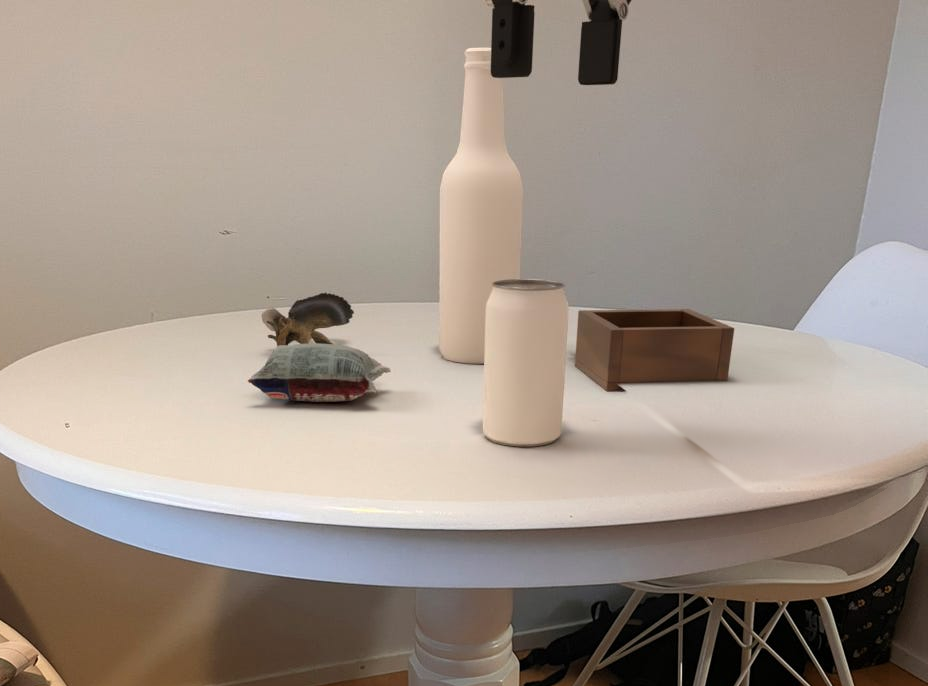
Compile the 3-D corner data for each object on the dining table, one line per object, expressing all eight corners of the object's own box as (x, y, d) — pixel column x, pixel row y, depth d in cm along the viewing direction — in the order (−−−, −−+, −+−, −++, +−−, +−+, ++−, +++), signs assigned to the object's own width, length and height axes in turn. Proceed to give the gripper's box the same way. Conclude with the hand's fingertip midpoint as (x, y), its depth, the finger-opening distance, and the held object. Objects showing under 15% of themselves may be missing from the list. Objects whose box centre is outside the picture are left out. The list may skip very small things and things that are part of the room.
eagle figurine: (308, 353, 106) (367, 328, 111) (273, 294, 104) (334, 270, 110) (279, 381, 112) (335, 356, 117) (245, 325, 111) (304, 302, 116)
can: (509, 422, 84) (515, 276, 79) (575, 435, 81) (585, 282, 76) (467, 438, 80) (469, 284, 74) (534, 452, 76) (542, 291, 71)
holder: (683, 363, 108) (689, 308, 106) (726, 388, 97) (734, 328, 95) (574, 365, 107) (578, 310, 104) (606, 391, 96) (611, 330, 93)
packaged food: (273, 385, 97) (269, 333, 94) (391, 389, 96) (390, 337, 93) (248, 407, 89) (243, 352, 87) (376, 412, 88) (375, 356, 86)
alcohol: (531, 355, 112) (545, 50, 98) (488, 368, 105) (496, 43, 92) (468, 346, 116) (473, 54, 103) (423, 358, 110) (422, 47, 96)
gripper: (531, -290, 53) (516, 72, 61) (699, -212, 64) (668, 86, 72) (433, -257, 58) (431, 75, 66) (606, -190, 69) (587, 88, 77)
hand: (555, 80), depth 69 cm, fingers open, 9 cm apart
